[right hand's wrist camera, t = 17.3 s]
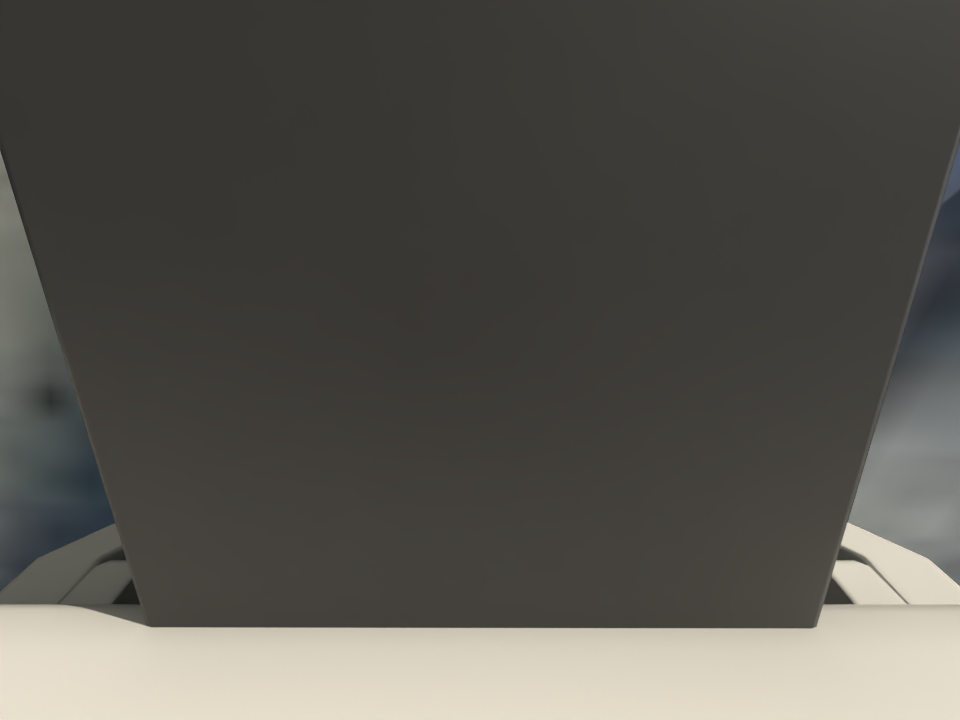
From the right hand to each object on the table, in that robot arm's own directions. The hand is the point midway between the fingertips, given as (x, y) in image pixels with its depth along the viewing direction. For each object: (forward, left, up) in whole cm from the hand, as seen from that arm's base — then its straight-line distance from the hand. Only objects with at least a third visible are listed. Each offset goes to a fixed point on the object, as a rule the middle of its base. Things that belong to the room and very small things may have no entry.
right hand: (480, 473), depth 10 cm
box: (+5, +5, -7) cm, 10 cm away
